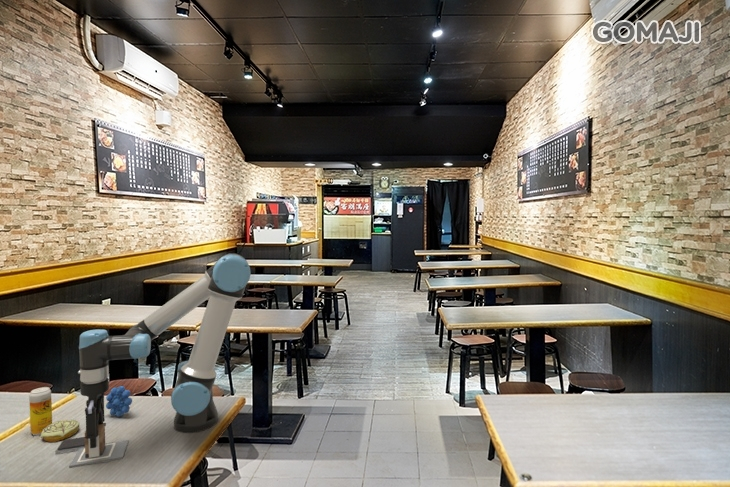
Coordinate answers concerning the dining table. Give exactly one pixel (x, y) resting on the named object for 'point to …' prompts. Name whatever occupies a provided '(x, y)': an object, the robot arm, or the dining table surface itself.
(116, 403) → the grapes
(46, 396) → the beer can
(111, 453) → the board
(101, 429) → the brown wooden block
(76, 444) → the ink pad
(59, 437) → the decorated donut
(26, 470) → the dining table surface
